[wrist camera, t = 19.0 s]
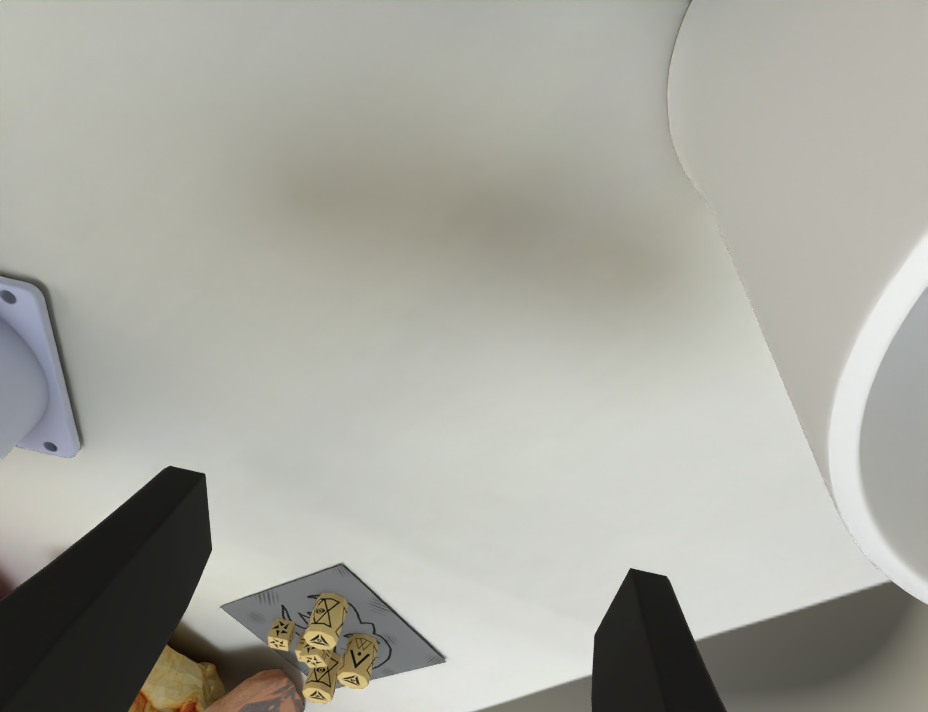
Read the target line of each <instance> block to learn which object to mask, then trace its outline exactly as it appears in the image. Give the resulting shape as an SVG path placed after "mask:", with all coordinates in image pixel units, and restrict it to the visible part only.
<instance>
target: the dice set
mask: <svg viewBox="0 0 928 712" xmlns="http://www.w3.org/2000/svg"><path fill="white" fill-rule="evenodd" d="M348 610H349V605H348V603H347V601H346V600H345V599H344V598H343V597H342V596H338V595H336V594H335V593H331V594H330V593H323V594H321V595H320V596H319V597H318V598H317V599H316V601H315V604H314V606H313V609H312V612H311V615H310V617H309V620H308V623H307V625H306V628H305V631H304V632H301V633H300V635H299V638H298V640H297V643H296V646H295V648H294V652H295V655H296V658H297V661H298V662H301V663H305V664H306V665H307V667H308V668H309V670H308V673H307V679H306V682H305V685H304V688H303V691H302V692H303V694H304V697H305V698H307V699H308V700H310V701H312V702H314V703H321V704H326V703H328V702H330V701H332V698H333V695H334V692H335V689H336V688H337V685H338V682H339V683H340V684H341V685H343V686H347V687H349V688H353V689H363V688H364V687H366V686H367V685H368V684H369V680H371V676H372V673H373V669H374V665H375V661H376V658H377V654H378V650H379V645H378V643H377V641H376V640H374V639H373V638H372V637H370V636H366V635H365V634H364V635H362V634H355V635H354V634H353V635H352V636H351V637H350V638H349V639H348V640H347V643H346V646H345V649H344V652H343V656H342V658H341V657H340V656H339V655H337V654H335V653H334V652H333V651H334V648H335V646H336V645H337V644H338V641H339V638H340V635H341V632H342V629H343V626H344V623H345V620H346V616H347V613H348ZM295 629H296V628H295V623H294V622H292V621H285V620H278V619H274V620H273V622H272V625H271V627H270V630H269V632H268V634H267V644H268V645H269V647H270V648H272V649H275V650H280V651H285V652H289V651H290V648H291V645H292V643H293V640H294V638H295V635H296V630H295Z"/></svg>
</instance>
